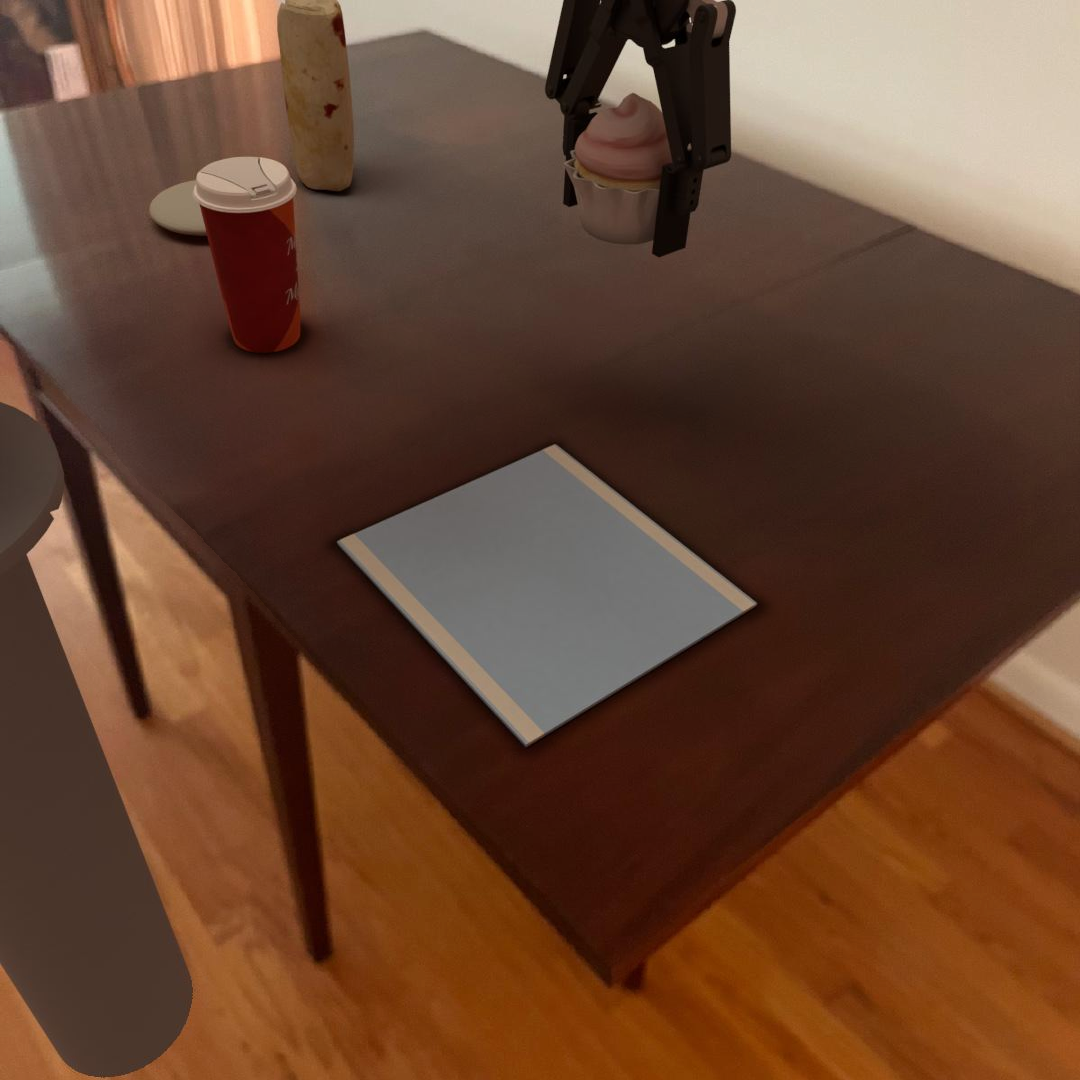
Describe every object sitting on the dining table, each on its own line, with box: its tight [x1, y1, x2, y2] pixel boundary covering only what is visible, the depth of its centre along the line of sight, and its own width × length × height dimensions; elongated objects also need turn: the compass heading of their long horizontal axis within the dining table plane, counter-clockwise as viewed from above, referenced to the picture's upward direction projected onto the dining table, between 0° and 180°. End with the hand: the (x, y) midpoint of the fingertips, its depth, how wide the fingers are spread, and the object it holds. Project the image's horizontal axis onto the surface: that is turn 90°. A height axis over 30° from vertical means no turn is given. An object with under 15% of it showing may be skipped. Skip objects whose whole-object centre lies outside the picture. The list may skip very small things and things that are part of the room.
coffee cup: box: [193, 156, 301, 354], centre depth 90 cm, size 8×8×15 cm
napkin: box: [336, 443, 758, 748], centre depth 73 cm, size 22×20×1 cm
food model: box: [276, 0, 355, 192], centre depth 113 cm, size 10×7×20 cm
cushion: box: [148, 179, 207, 237], centre depth 110 cm, size 12×12×3 cm
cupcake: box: [563, 92, 673, 246], centre depth 76 cm, size 9×9×10 cm
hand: (622, 225), depth 79 cm, fingers closed on cupcake, 9 cm apart
